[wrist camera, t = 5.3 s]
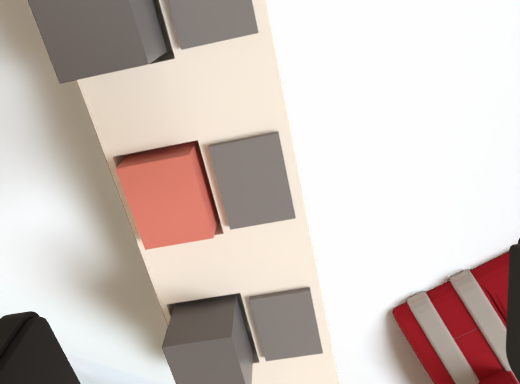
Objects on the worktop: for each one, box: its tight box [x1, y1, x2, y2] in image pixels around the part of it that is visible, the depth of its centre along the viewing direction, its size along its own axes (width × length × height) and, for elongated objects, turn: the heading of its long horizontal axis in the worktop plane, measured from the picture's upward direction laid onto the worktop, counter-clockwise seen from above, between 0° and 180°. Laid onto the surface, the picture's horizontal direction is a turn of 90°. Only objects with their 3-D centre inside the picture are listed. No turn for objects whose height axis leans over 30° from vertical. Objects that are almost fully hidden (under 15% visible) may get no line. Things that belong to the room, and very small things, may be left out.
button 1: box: [28, 0, 168, 83], centre depth 16 cm, size 4×3×3 cm
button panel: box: [77, 0, 339, 384], centre depth 21 cm, size 32×8×4 cm, turn 12°
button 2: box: [116, 140, 219, 250], centre depth 21 cm, size 4×3×3 cm
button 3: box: [162, 293, 253, 384], centre depth 23 cm, size 4×3×3 cm
